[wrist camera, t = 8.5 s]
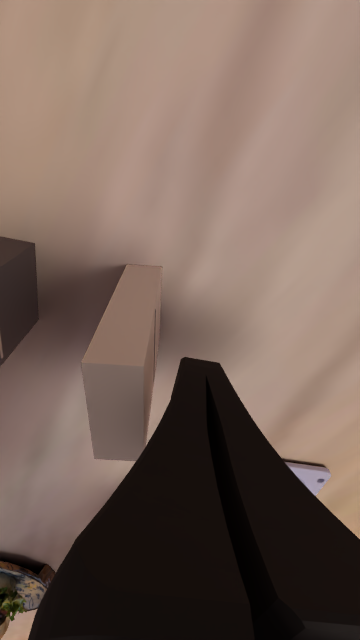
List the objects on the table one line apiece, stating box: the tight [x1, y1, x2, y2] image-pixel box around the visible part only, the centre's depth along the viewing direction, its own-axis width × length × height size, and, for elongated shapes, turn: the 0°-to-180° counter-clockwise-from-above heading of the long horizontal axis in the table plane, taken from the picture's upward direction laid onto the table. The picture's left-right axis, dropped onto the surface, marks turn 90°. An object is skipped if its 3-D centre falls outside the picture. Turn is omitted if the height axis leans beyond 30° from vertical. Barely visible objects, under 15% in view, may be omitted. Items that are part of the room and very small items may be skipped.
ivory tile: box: [81, 264, 162, 461], centre depth 12 cm, size 4×2×7 cm, turn 176°
